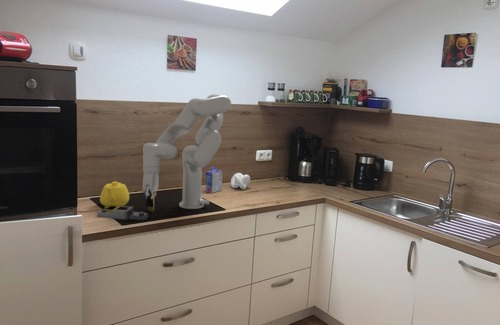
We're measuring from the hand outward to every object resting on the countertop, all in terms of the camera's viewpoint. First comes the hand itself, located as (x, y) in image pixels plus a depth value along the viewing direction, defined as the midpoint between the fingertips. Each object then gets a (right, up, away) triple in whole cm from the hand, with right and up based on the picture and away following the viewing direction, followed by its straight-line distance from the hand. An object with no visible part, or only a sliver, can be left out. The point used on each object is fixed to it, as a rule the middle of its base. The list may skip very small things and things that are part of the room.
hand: (151, 205), depth 204 cm
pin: (0, -3, 0) cm, 3 cm away
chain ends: (-11, -4, -11) cm, 16 cm away
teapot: (-19, -1, +4) cm, 20 cm away
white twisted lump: (+43, +5, +55) cm, 70 cm away
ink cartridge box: (+27, +4, +45) cm, 53 cm away
